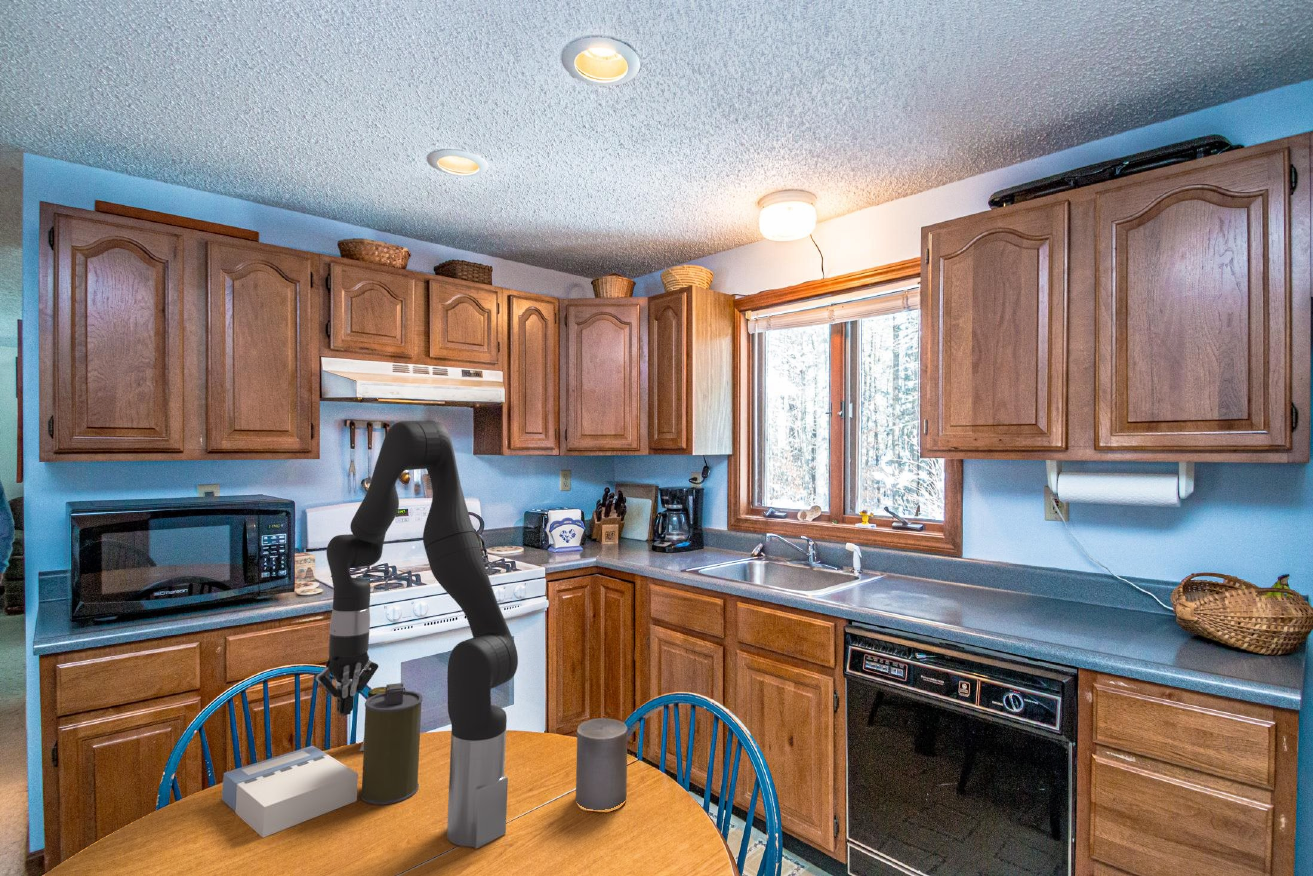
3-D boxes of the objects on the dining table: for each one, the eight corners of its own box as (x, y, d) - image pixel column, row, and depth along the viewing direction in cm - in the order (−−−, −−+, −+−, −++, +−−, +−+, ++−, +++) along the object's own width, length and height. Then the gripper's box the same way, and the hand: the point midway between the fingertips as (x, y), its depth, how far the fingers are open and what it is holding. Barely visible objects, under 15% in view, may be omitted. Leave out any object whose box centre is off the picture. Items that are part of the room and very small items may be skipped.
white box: (356, 800, 121) (358, 772, 121) (262, 837, 108) (264, 806, 108) (326, 780, 128) (327, 754, 128) (235, 812, 115) (236, 783, 116)
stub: (325, 779, 128) (326, 753, 128) (234, 811, 116) (236, 782, 116) (311, 769, 132) (313, 745, 132) (222, 799, 119) (223, 772, 119)
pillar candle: (611, 783, 130) (612, 707, 131) (635, 805, 122) (637, 724, 122) (566, 796, 125) (568, 717, 125) (589, 820, 117) (591, 735, 117)
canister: (421, 799, 122) (426, 691, 123) (360, 809, 118) (366, 698, 119) (415, 773, 132) (420, 674, 133) (359, 783, 127) (364, 679, 128)
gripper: (326, 639, 128) (320, 728, 127) (389, 627, 138) (384, 710, 137) (308, 632, 132) (303, 718, 131) (370, 621, 143) (366, 701, 142)
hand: (344, 714), depth 134 cm, fingers closed
